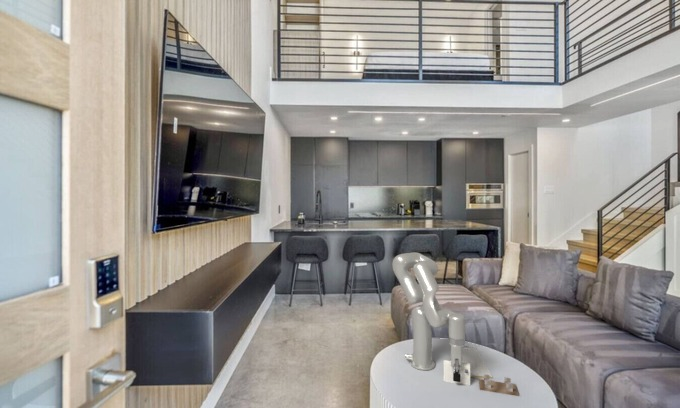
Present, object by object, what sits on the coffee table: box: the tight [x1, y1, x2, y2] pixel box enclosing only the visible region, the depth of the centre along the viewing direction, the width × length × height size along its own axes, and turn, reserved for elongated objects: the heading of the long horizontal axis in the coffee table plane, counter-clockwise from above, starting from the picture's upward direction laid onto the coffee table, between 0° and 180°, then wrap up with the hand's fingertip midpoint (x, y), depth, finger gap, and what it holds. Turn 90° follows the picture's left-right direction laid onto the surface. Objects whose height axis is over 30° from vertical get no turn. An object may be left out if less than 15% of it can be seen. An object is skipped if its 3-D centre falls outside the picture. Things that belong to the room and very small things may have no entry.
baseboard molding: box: [462, 345, 493, 379], centre depth 182 cm, size 31×3×12 cm
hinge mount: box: [478, 374, 520, 397], centre depth 157 cm, size 16×8×4 cm, turn 72°
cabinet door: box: [443, 359, 471, 386], centre depth 163 cm, size 12×4×9 cm, turn 72°
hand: (456, 376), depth 163 cm, fingers open, 7 cm apart
